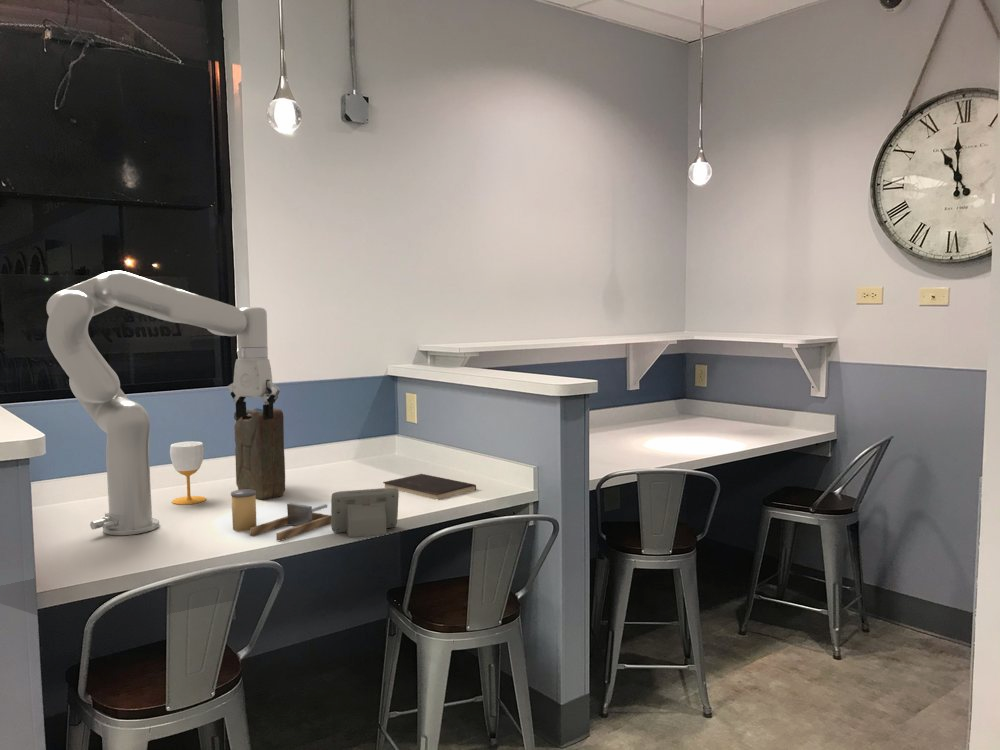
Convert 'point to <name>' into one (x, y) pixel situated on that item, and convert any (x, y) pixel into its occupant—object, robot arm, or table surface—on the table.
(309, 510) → the pusher
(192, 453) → the cup
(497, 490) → the table surface
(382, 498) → the digital clock
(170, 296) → the robot arm
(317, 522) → the lane
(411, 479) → the hardcover book
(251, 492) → the jar
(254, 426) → the canister
